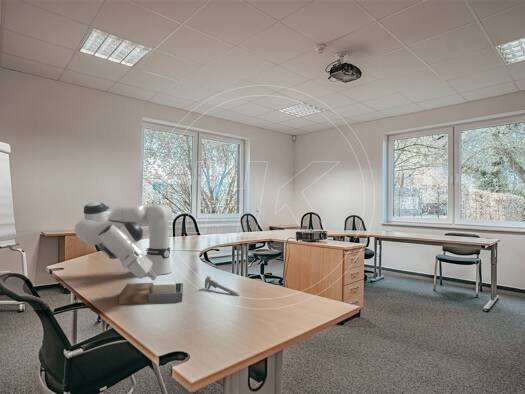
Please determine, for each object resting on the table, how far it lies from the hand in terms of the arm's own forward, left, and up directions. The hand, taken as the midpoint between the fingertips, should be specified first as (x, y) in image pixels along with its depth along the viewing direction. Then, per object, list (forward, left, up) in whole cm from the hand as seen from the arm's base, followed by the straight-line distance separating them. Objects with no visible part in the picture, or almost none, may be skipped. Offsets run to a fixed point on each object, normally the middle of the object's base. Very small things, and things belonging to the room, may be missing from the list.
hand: (155, 278), depth 137 cm
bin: (+4, +3, -8) cm, 9 cm away
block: (0, 0, -5) cm, 5 cm away
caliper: (+20, +22, -8) cm, 31 cm away
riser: (-5, -5, -8) cm, 11 cm away
